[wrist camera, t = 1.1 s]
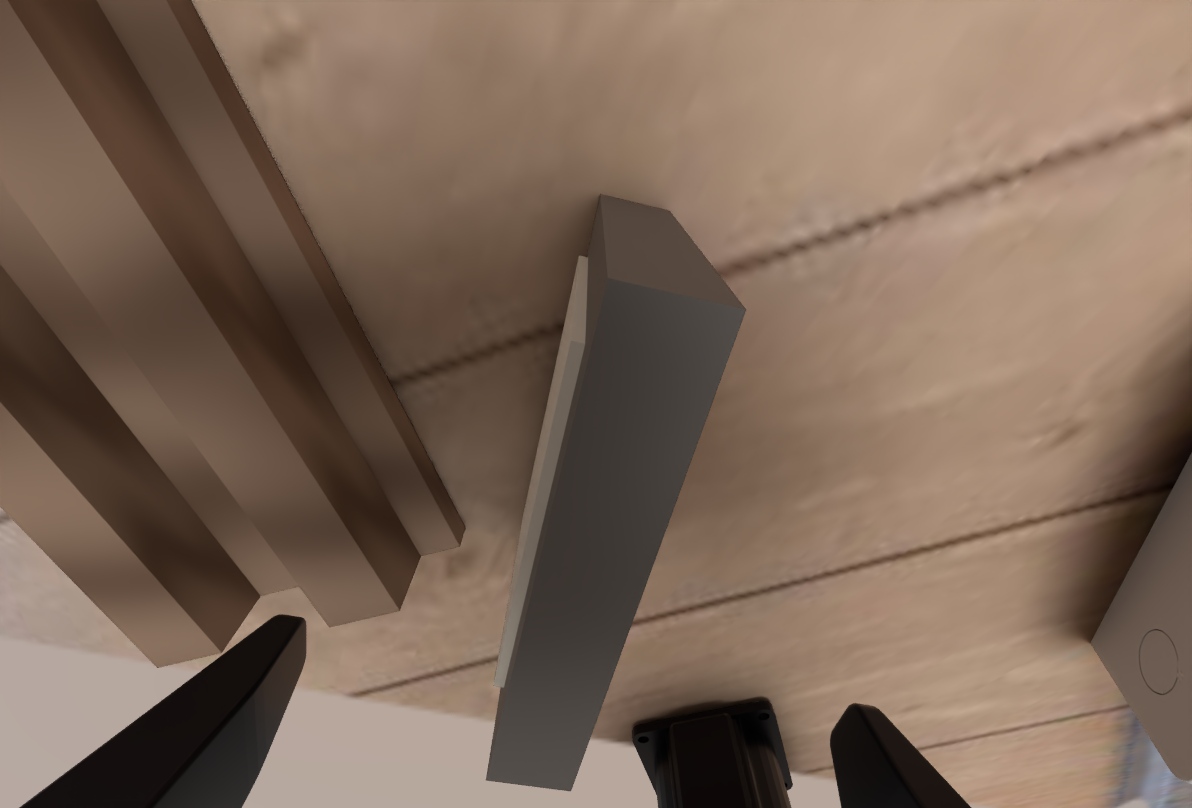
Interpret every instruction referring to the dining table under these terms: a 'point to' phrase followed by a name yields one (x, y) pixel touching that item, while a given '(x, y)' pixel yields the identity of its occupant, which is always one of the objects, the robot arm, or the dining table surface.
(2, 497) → the walnut ledge
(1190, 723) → the grey two-tone curved device
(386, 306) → the dining table surface
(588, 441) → the picture frame
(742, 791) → the robot arm
